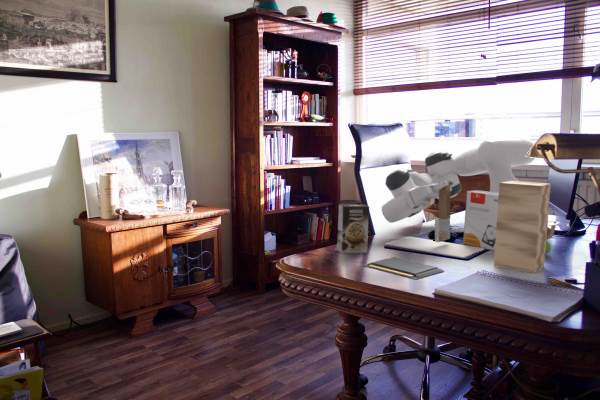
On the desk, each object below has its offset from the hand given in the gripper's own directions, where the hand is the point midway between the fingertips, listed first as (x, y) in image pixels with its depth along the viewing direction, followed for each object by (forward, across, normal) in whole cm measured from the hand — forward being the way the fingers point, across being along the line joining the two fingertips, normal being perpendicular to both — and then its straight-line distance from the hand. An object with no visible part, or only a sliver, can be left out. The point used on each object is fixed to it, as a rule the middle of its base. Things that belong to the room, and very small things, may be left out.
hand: (450, 182), depth 185 cm
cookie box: (-30, +30, -10) cm, 43 cm away
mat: (-15, +3, -19) cm, 24 cm away
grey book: (-9, +38, -23) cm, 45 cm away
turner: (-8, 0, -8) cm, 11 cm away
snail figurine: (+14, -12, -35) cm, 40 cm away
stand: (+13, +10, -35) cm, 38 cm away
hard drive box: (-3, -11, -26) cm, 28 cm away
